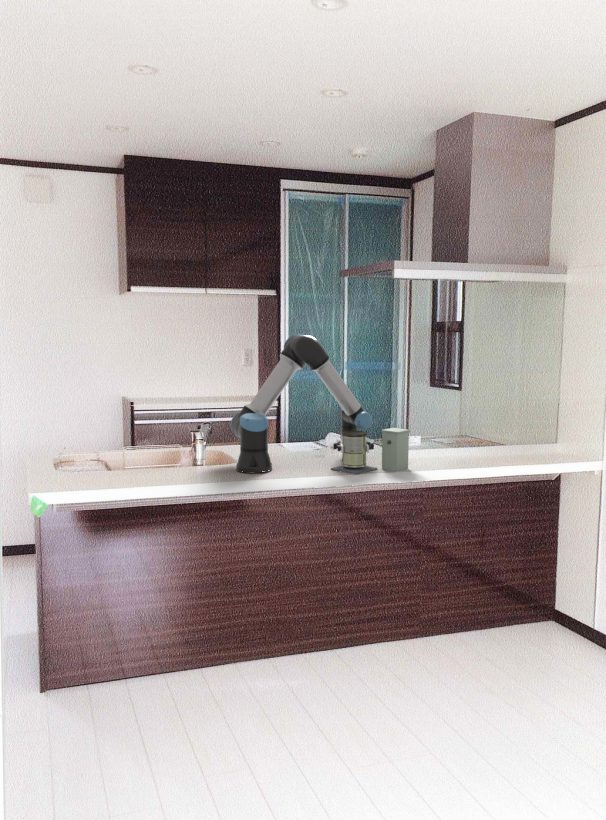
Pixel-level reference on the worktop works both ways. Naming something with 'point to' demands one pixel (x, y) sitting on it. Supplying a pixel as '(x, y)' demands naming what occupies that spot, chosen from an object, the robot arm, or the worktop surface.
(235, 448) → the worktop surface
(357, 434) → the coffee can
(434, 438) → the worktop surface
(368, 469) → the pad
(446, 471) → the worktop surface
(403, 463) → the block
